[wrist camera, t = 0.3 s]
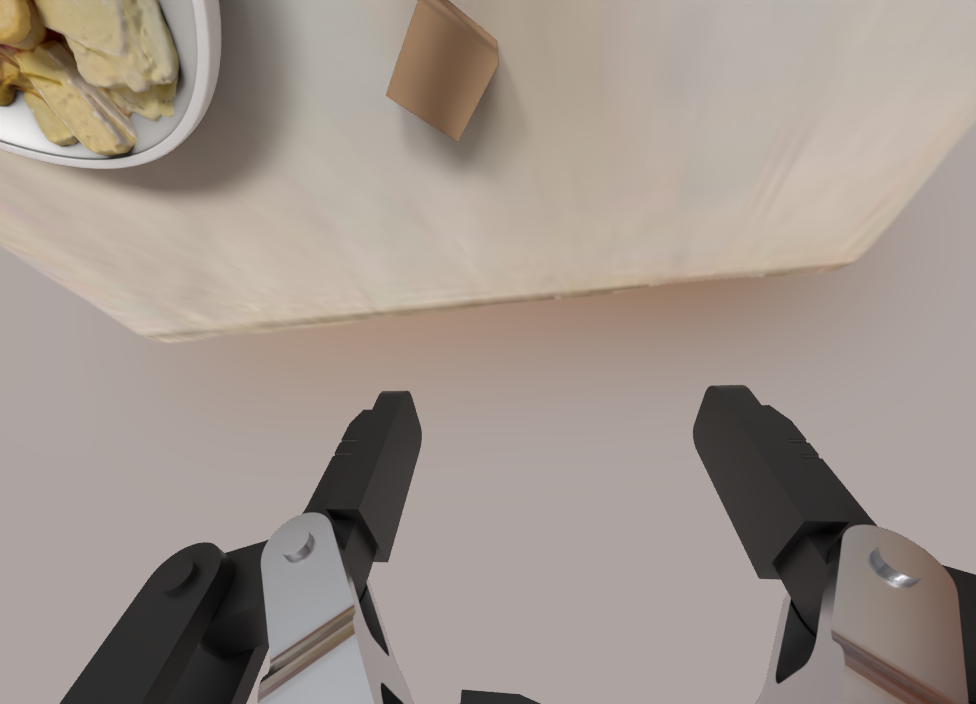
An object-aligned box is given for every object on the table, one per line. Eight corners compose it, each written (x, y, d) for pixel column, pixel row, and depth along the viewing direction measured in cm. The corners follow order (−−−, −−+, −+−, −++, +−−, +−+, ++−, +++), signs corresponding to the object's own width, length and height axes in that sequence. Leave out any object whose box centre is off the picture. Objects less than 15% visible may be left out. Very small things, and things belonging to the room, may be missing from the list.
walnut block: (397, 69, 27) (385, 95, 24) (427, -18, 24) (418, -1, 20) (460, 112, 30) (457, 141, 26) (496, 39, 26) (498, 63, 23)
